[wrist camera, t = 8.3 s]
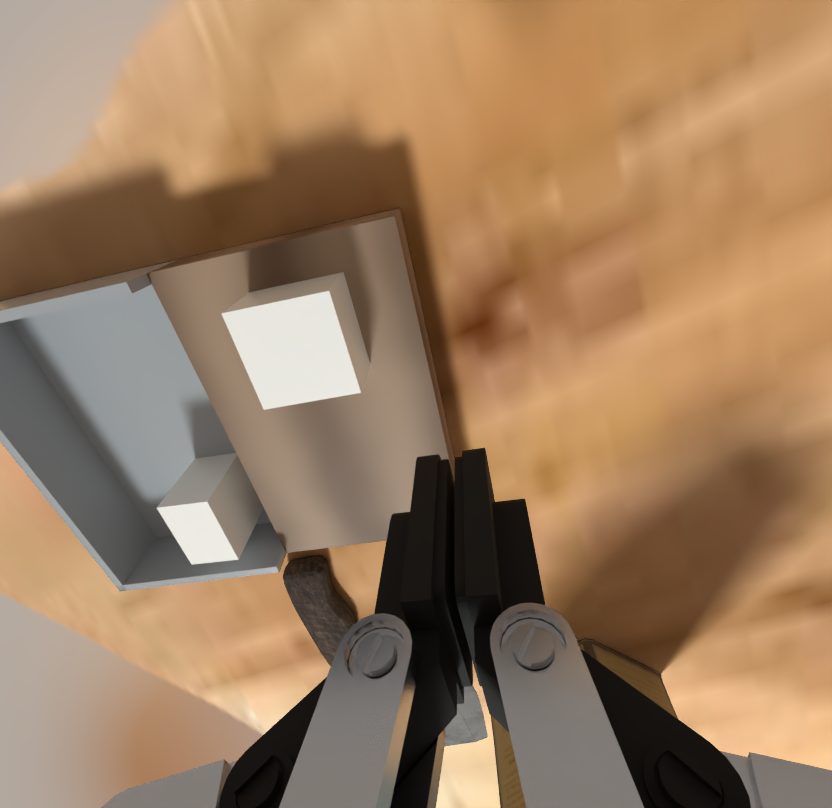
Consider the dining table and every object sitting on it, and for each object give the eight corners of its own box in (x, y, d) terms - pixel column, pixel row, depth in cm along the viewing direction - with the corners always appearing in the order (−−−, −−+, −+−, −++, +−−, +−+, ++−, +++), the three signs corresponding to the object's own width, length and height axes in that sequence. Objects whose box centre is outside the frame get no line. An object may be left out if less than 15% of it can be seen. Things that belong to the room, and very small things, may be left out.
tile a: (207, 501, 24) (156, 507, 25) (238, 559, 26) (191, 564, 27) (239, 452, 28) (195, 458, 28) (264, 506, 30) (223, 511, 31)
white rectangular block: (343, 272, 20) (329, 290, 17) (370, 363, 22) (360, 392, 19) (249, 292, 20) (221, 313, 18) (283, 379, 23) (263, 409, 20)
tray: (179, 259, 23) (126, 282, 19) (299, 519, 31) (279, 572, 27) (-4, 301, 24) (-89, 331, 20) (157, 538, 33) (120, 591, 29)
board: (400, 207, 21) (394, 216, 19) (462, 496, 30) (465, 530, 27) (179, 259, 23) (146, 273, 20) (299, 519, 31) (286, 553, 29)
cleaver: (260, 563, 34) (250, 587, 32) (375, 530, 32) (371, 554, 30) (414, 742, 48) (413, 766, 46) (503, 727, 45) (506, 752, 43)
